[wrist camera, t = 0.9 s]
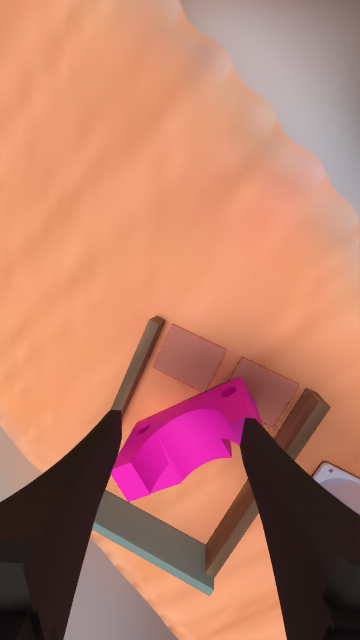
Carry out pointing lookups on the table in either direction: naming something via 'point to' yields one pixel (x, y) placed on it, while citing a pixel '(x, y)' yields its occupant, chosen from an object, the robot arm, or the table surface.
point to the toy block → (183, 439)
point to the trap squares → (202, 361)
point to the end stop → (153, 541)
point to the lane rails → (244, 506)
